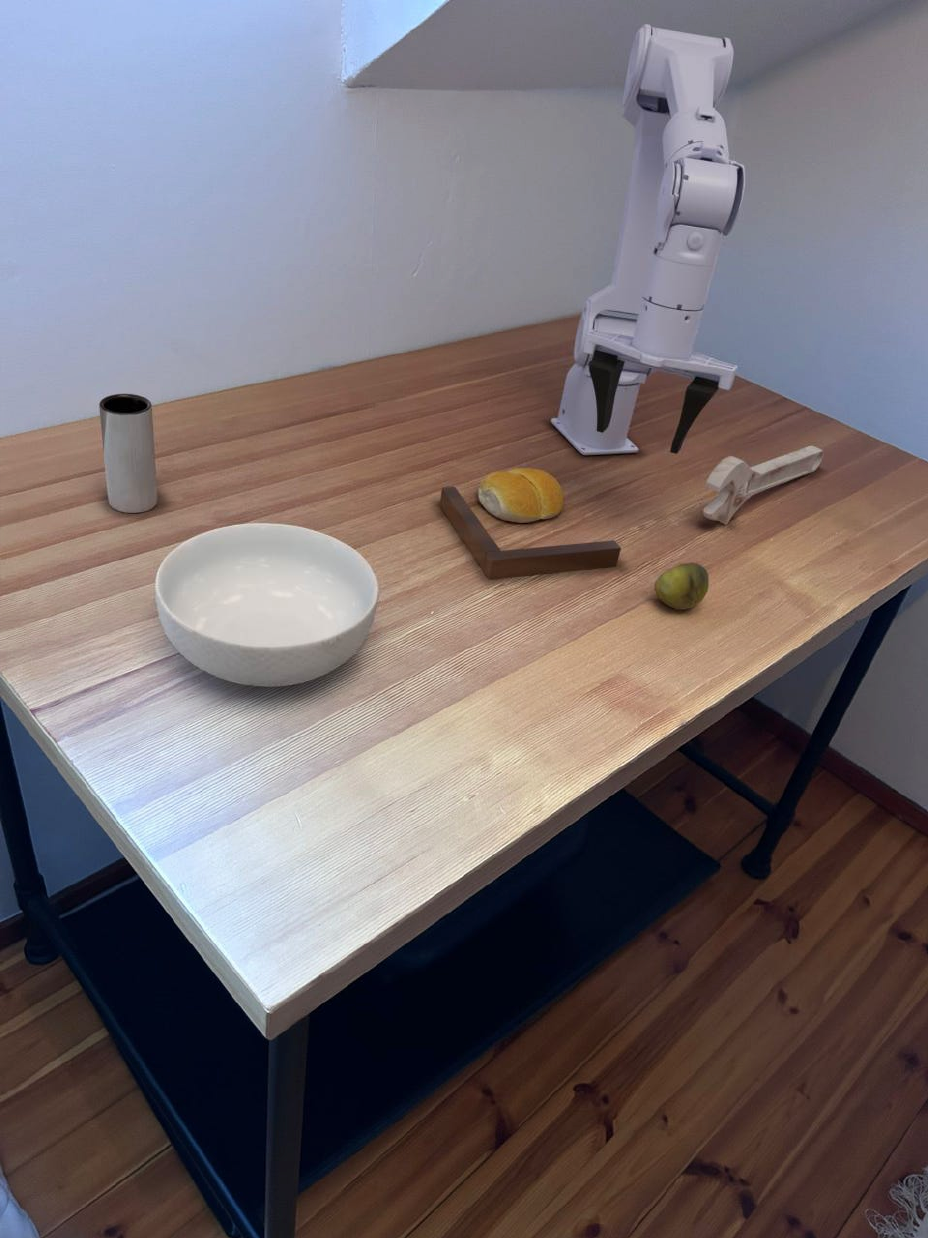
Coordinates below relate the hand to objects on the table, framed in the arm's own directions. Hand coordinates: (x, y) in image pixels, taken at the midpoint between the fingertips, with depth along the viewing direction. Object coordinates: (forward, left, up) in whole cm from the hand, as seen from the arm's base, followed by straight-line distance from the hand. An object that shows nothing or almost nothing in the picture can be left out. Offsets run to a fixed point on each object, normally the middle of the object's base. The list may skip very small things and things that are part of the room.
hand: (638, 439), depth 95 cm
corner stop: (0, -10, -11) cm, 15 cm away
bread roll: (-6, -9, -11) cm, 15 cm away
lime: (+14, -1, -11) cm, 18 cm away
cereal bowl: (+13, -40, -11) cm, 43 cm away
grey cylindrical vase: (-12, -48, -11) cm, 50 cm away
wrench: (-4, +22, -11) cm, 25 cm away
